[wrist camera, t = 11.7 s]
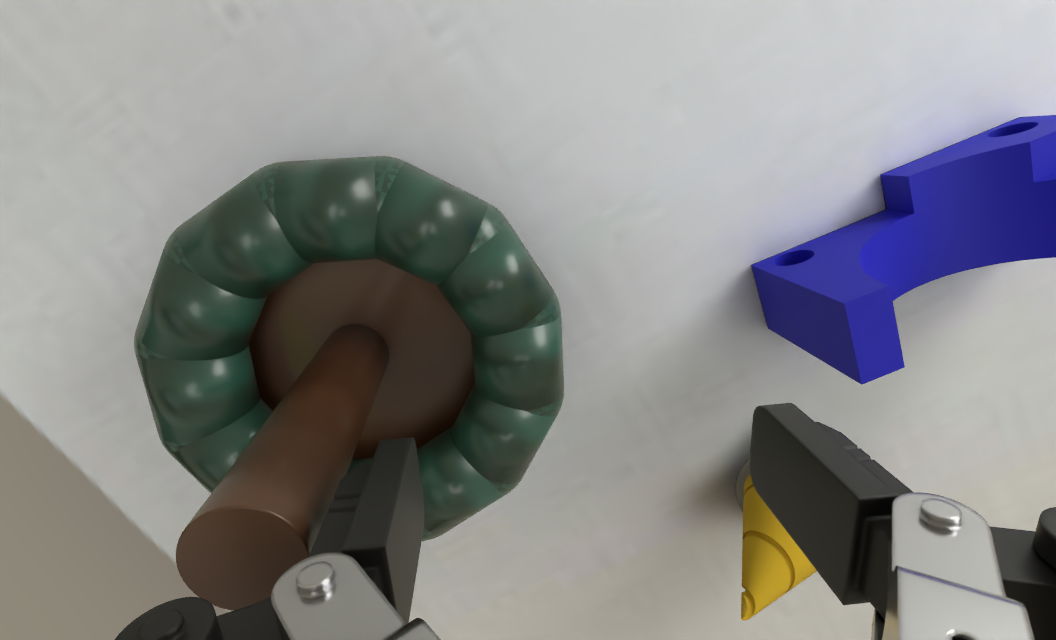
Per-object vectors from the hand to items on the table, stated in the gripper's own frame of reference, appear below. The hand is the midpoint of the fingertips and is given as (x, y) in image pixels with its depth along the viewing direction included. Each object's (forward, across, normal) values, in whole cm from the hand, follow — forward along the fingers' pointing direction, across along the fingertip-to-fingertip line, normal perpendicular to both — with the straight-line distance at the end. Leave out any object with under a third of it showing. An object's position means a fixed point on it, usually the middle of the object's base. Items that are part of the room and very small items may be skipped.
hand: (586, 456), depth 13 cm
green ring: (+7, +7, 0) cm, 10 cm away
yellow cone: (+11, -10, +9) cm, 17 cm away
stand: (+10, +7, 0) cm, 13 cm away
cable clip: (+11, -15, -2) cm, 19 cm away
